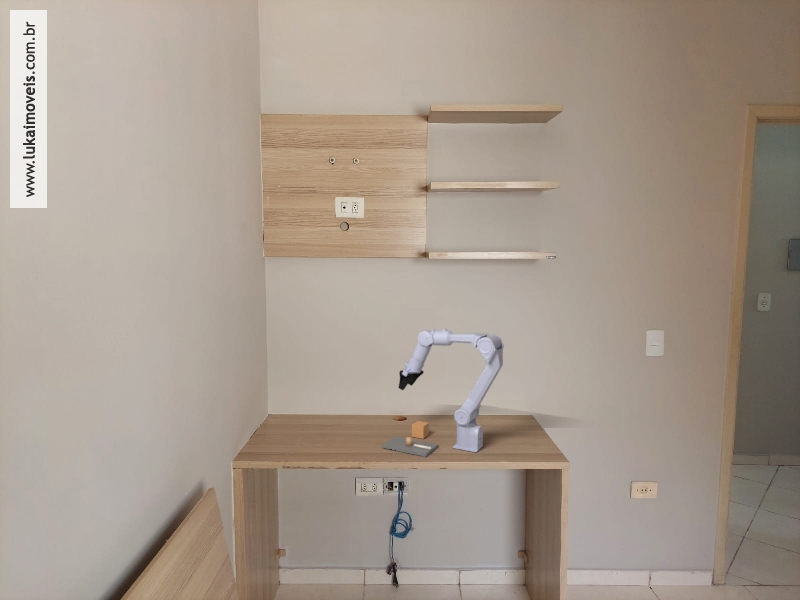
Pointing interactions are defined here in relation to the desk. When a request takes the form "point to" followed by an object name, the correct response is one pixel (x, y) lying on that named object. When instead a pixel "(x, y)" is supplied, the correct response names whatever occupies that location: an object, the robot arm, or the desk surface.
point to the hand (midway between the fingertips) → (405, 386)
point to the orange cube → (420, 429)
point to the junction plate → (410, 446)
